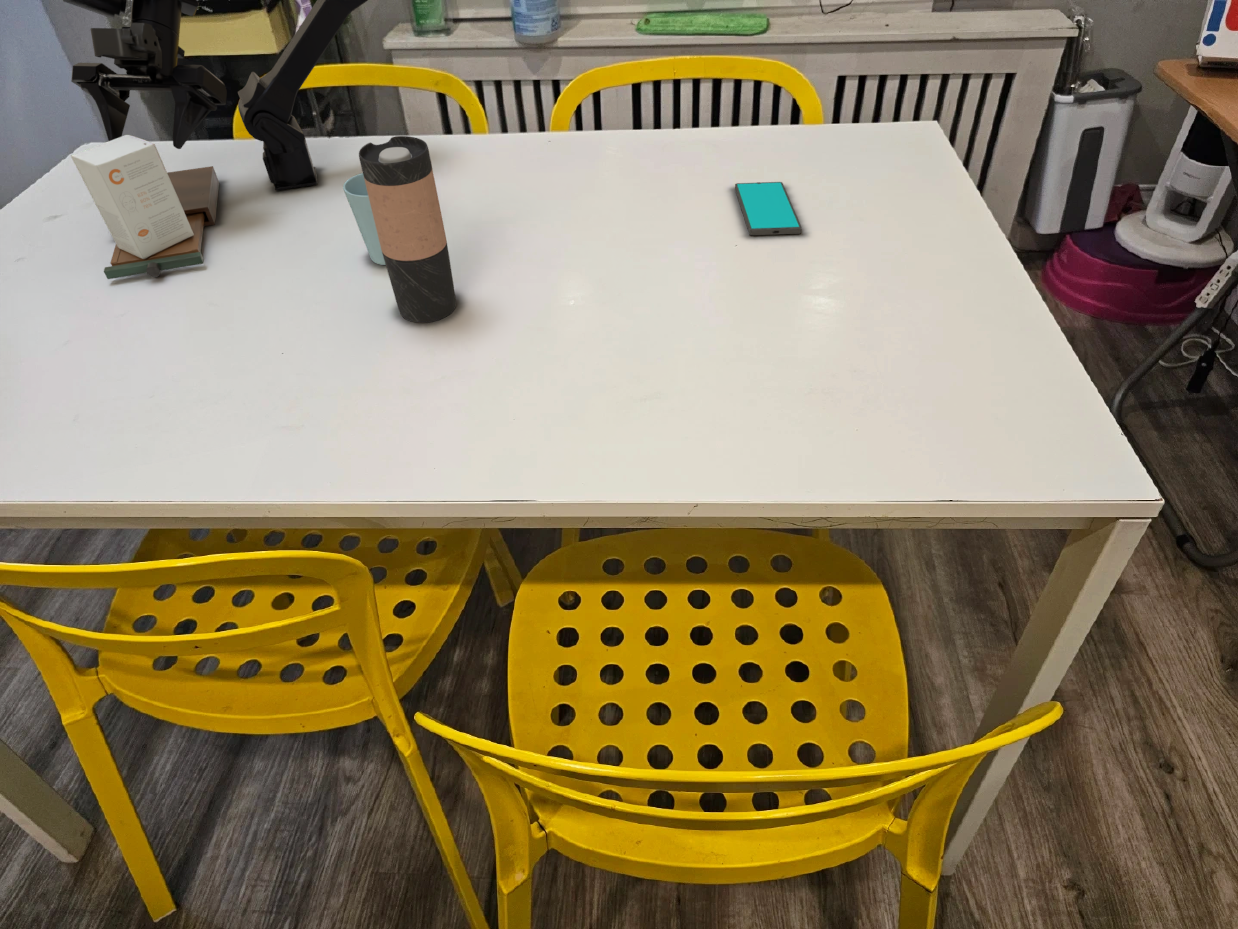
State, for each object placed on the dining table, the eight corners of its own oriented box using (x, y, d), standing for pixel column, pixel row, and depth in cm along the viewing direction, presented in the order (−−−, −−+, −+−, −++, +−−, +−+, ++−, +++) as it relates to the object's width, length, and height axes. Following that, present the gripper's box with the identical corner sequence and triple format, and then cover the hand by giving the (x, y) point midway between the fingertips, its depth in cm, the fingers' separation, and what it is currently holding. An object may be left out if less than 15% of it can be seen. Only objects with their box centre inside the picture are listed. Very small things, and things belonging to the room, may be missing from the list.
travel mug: (445, 327, 96) (412, 165, 83) (387, 321, 98) (345, 161, 84) (466, 293, 102) (439, 137, 88) (411, 288, 103) (374, 133, 89)
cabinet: (215, 224, 117) (207, 206, 115) (118, 239, 115) (109, 221, 113) (219, 182, 128) (212, 165, 126) (131, 195, 125) (123, 178, 123)
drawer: (203, 269, 107) (198, 258, 106) (107, 285, 104) (101, 274, 103) (209, 218, 117) (205, 208, 116) (122, 232, 115) (117, 221, 114)
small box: (169, 224, 114) (128, 132, 105) (195, 235, 111) (156, 142, 102) (116, 248, 109) (68, 154, 100) (142, 260, 106) (96, 165, 97)
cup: (415, 268, 107) (399, 193, 100) (358, 271, 107) (337, 197, 99) (422, 240, 112) (406, 168, 105) (368, 243, 112) (348, 171, 105)
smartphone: (750, 230, 110) (734, 183, 121) (749, 235, 111) (734, 188, 122) (802, 228, 110) (782, 181, 121) (801, 233, 111) (782, 186, 122)
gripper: (41, -6, 100) (30, 117, 99) (179, -5, 97) (169, 121, 97) (108, 43, 111) (98, 153, 110) (233, 45, 109) (223, 158, 108)
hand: (145, 146), depth 106 cm, fingers open, 9 cm apart
